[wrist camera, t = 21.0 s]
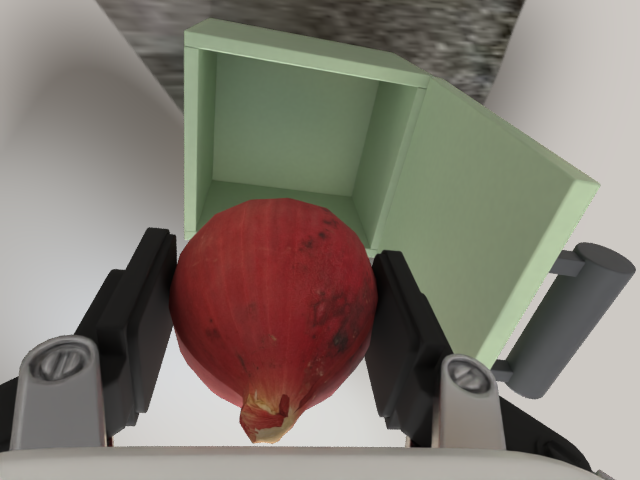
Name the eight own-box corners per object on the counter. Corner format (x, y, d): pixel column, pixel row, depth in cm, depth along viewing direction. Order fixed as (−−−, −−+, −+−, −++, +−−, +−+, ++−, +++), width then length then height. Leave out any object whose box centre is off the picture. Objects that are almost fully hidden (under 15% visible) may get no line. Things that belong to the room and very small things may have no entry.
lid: (418, 459, 18) (531, 469, 18) (575, 179, 11) (752, 210, 11) (373, 260, 31) (440, 270, 31) (430, 76, 24) (514, 92, 24)
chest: (204, 182, 37) (184, 240, 28) (208, 17, 30) (183, 29, 21) (356, 201, 39) (377, 258, 31) (393, 52, 32) (434, 75, 24)
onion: (322, 130, 13) (374, 288, 6) (372, 262, 16) (443, 463, 9) (163, 195, 14) (54, 401, 7) (240, 309, 17) (218, 529, 10)
